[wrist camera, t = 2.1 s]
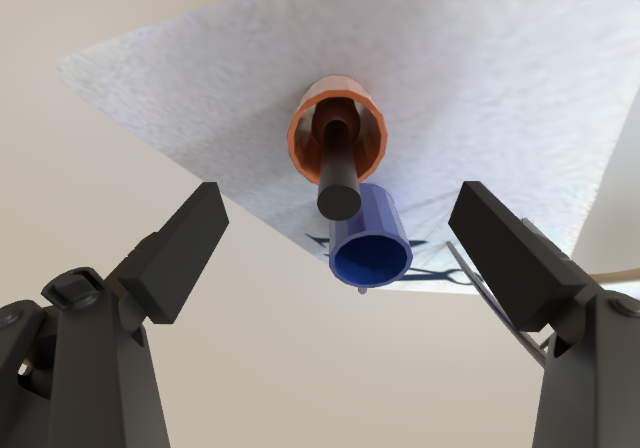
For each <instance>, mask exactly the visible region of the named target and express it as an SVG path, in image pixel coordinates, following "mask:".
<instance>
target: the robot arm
mask: <svg viewBox="0 0 640 448" xmlns="http://www.w3.org/2000/svg"><path fill="white" fill-rule="evenodd" d="M228 224H229V220H228V217H227V214H226V211H225V207H224V204H223V201H222V198H221V195H220V191H219V188H218V185H217V182H203V183H202V184H201V185H200V186H199V187H198V188H197V189H196V190H195V191H194V193H193V194H192V195H191V196H190V197H189V198H188V199H187V200H186V201H185V203H184V204H183V205H182V206H181V207H180V208H179V209H178V210H177V212H176V213H175V214H174V215H173V216H172V217H171V218H170V219H169V220H168V221H167V223H166V224H165V225H164V226H163V227H162V228H161V229H160V230H159V231H158V232H153V233H152V234H150V235H149V236H147V237H145V238H144V239H143V240H142V241H141V242H140V243H139V244H138V245H137V246H136V247H135V249H134V250H132V251H131V252H130V253H129V254H128V257H126V258H124V260H123V261H122V262H121V263H120V264H119V265H118V266H117V267H116V268H115V269H114V270H113V271H112V272H111V273H110V274H109V275H108V276H107V278H106V279H105V280H103V279H102V278H101V277H100V276H99V274H98V273H97V272H96V271H95V270H94V269H93V268H90V267H80V268H76V269H73V270H70V271H67V272H65V273H63V274H61V275H59V276H58V277H56V278H54V279H53V280H51V281H50V282H49V283H48V284H47V285H46V286H45V287H44V288H43V290H42V292H41V295H42V296H44V297H45V298H46V299H47V300H48V301H50V302H51V303H52V304H53V305H52V306H48V307H43V308H42V307H40V306H39V305H37V303H35V302H34V301H32V300H21V301H17V302H14V303H11V304H9V305H6V306H4V307H2V308H0V448H170V443H169V439H168V434H167V429H166V424H165V420H164V415H163V410H162V406H161V401H160V397H159V391H158V387H157V382H156V377H155V373H154V368H153V364H152V358H151V354H150V349H149V345H148V340H147V335H146V330H145V328H144V326H143V325H142V322H143V321H144V319H145V318H146V316H148V317H149V318H150V320H151V321H152V322H153V323H154V324H173V323H174V321H175V320H176V318H177V316H178V314H179V312H180V311H181V309H182V307H183V305H184V303H185V301H186V300H187V298H188V296H189V294H190V293H191V291H192V289H193V287H194V285H195V283H196V282H197V280H198V278H199V276H200V275H201V273H202V271H203V269H204V267H205V266H206V264H207V262H208V260H209V258H210V257H211V255H212V253H213V251H214V249H215V248H216V246H217V244H218V242H219V240H220V239H221V237H222V235H223V233H224V231H225V229H226V228H227V226H228ZM448 224H449V226H450V227H451V229H452V230H453V232H454V234H455V235H456V237H457V238H458V240H459V241H460V243H461V245H462V246H463V248H464V249H465V251H466V252H467V254H468V255H469V257H470V259H471V260H472V262H473V263H474V265H475V266H476V268H477V270H478V271H479V273H480V274H481V276H482V277H483V279H484V280H485V282H486V284H487V285H488V287H489V288H490V290H491V291H492V293H493V295H494V296H495V298H496V299H497V301H498V302H499V304H500V305H501V307H502V309H503V310H504V312H505V313H506V315H507V316H508V318H509V319H510V321H511V323H512V324H513V326H514V327H515V329H516V330H517V332H540V331H541V329H542V328H544V327H545V326H546V325H547V324H548V323H549V324H550V326H551V327H552V328H553V329H554V331H555V332H554V333H553V334H552V335H550V336H549V337H548V338H547V339H546V340H545V341H544V342H543V343H542V344H541V345H540V346H539V349H541V350H543V349H544V348H545V347H546V346H548V352H547V358H546V364H545V370H544V377H543V383H542V389H541V395H540V401H539V408H538V414H537V420H536V427H535V432H534V438H533V445H532V448H640V301H638V300H636V299H634V298H632V297H630V296H628V295H626V294H623V293H620V292H616V291H611V290H604V289H603V288H602V287H601V286H600V285H599V284H598V283H597V282H595V281H594V280H593V279H592V278H591V277H590V276H589V275H588V274H587V273H586V272H584V271H583V270H582V269H581V268H580V267H579V266H578V265H577V264H576V263H575V262H573V261H572V260H570V258H569V257H568V256H567V255H566V254H565V253H564V252H561V250H560V249H559V248H558V247H557V246H556V245H555V244H554V243H553V242H552V241H550V240H548V239H547V238H545V237H543V236H541V235H540V234H538V233H533V232H532V231H531V230H530V229H529V228H528V227H527V226H526V225H525V224H524V223H523V222H521V221H520V220H519V219H518V218H517V217H516V216H515V215H514V214H513V213H512V212H511V211H510V210H509V209H508V208H507V207H506V206H505V205H504V204H503V203H501V202H500V201H499V200H498V199H497V198H496V197H495V196H494V195H493V194H492V193H491V192H490V191H489V190H488V189H487V188H486V187H485V186H484V185H483V184H481V183H480V182H479V181H464V182H463V185H462V188H461V190H460V193H459V195H458V198H457V201H456V203H455V206H454V209H453V211H452V214H451V217H450V219H449V222H448ZM22 363H23V364H25V365H27V368H26V370H25V372H24V373H23V375H20V374H18V371H19V369H20V367H21V365H22Z"/></svg>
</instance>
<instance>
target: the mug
mask: <svg viewBox="0 0 640 448" xmlns="http://www.w3.org/2000/svg"><path fill="white" fill-rule="evenodd" d="M359 189H360V195H361V201H362V202H361V207H360V210H359V211H358V213H357V214H356V215H355V216H354V217H352V218H350V219H348V220H345V221H333V220H330V241H329V267H330V269H331V270H332V272H333V274H334V276H335V277H336V278H338V279H339V280H341V281H342V282H344V283H345V284H348V285H351V286H355V287H358V291H359V293H361V294H365V293H366V292H367V288H375V287H380V286H384V285H388V284H390V283H392V282H394V281H396V280H398V279H400V278H401V277H402V276H403V275H404V274H405V273H406V272H407V271H408V270H409V268H410V266H411V262H412V259H413V254H412V251H411V248H410V244H409V242H408V239H407V236H406V234H405V231H404V228H403V226H402V223H401V220H400V218H399V215H398V212H397V210H396V207H395V204H394V202H393V200H392V198H391V196H390V195H389V194H388V192H386V191H385V190H384V189H382V188H381V187H378V186H376V185H372V184H359Z"/></svg>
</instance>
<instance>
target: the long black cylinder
mask: <svg viewBox="0 0 640 448" xmlns="http://www.w3.org/2000/svg"><path fill="white" fill-rule="evenodd" d="M360 126H361V123H360V116H359V113H358V111H357V110H356V108H355V107H354V106H353V105H352V104H351V103H350V102H349V101H347V100H344V99H341V98H333V99H329V100H326V101H325V102H323V103H322V104H320V105H319V106H318V108H317V109H316V111H315V112H314V115H313V118H312V125H311V127H312V133H313V136H314V138H315V140H316V141H317V143H318V144H319V145H320V146H322V154H321V165H320V176H319V187H318V198H317V206H318V209H319V211H320V213H321V214H322V215H323V216H324V217H326V218H327V219H330V220H333V221H345V220H348V219H350V218H352V217H354V216H355V215H356V214H357V213H358V211H359V210H360V207H361V202H362V201H361V195H360V189H359V184H358V178H357V173H356V167H355V162H354V156H353V151H352V144H353V143H354V142H355V140H356V139H357V137H358V134H359V132H360Z"/></svg>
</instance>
